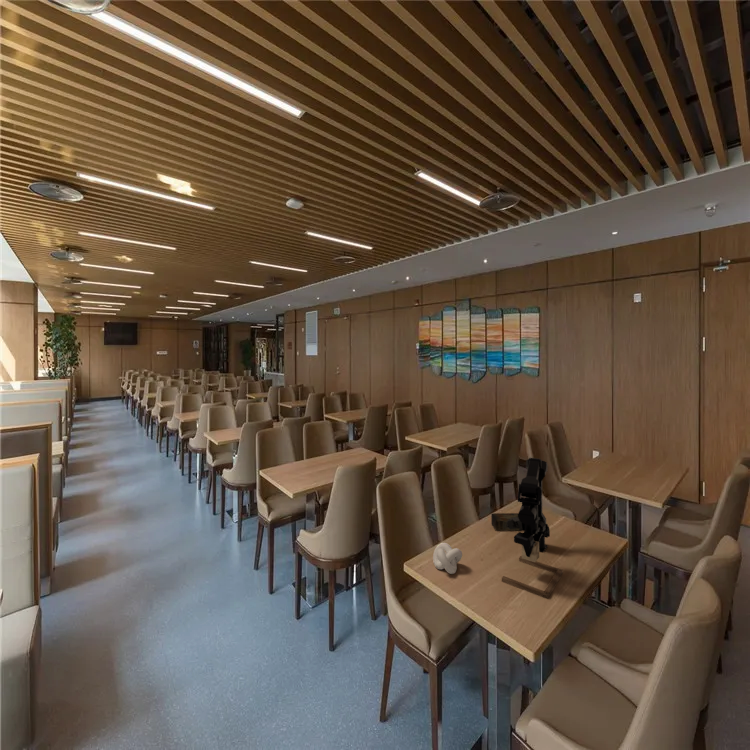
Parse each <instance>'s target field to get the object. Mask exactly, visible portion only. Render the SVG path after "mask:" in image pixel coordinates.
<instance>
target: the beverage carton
mask: <svg viewBox="0 0 750 750" xmlns="http://www.w3.org/2000/svg"><path fill="white" fill-rule="evenodd" d="M518 513H519V512H516V513H515V512H511V513H509V512H508V513H506V512H504V513H503V512H502V513H500V512H499V513H491V517H490V518H491V519H490V520H491V523H490V524H491V526H492V528H493V529H494V530H495V532H507V531H508V532H510V531H511V532H512V531H513V532H514V531H515V532H517V531H518V532H521V531H520V530H519V528H518V529H512V530H510V529H509V528H508V527H507V526H506V525H507V523H506V522H507V521H508V520H509V519H510V518H514V517H518Z"/></svg>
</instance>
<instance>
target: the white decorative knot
mask: <svg viewBox="0 0 750 750" xmlns="http://www.w3.org/2000/svg"><path fill="white" fill-rule="evenodd" d="M462 557H463V552H462V550H461V549H460V548H457V547H455V548H453V547H452V546H451V545H450V544H449V543H447V542H441V543H439V544H438V545H437V546H435V548H434V550H433V554H432V561H433V565H434V566H435V568H436V569H437V570H445V571H446V572H447V573H448V574H450V575H454V574H455V573H456V572H457V568H458V567H457V564H458V563H459V562H460V561H461V559H462Z"/></svg>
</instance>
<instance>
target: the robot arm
mask: <svg viewBox="0 0 750 750" xmlns="http://www.w3.org/2000/svg"><path fill="white" fill-rule="evenodd" d="M548 467H549V466H548V462H547V461H545V460H543V459H541V458H537V457H528V459H526V460H525V468H526V471H527V472H526V476H525V477H523V478H522V479H521V481H520V483H519V484H518V493H517V502H518V503H521V505H520V506H521V507H520V509H519V510H518V512H517V513H518V517H514V518H510V519H509V520H508V521H507V522H506V523H507V525H506V526H507V527H508V528H509V529H510V530H512V529H518V528H519V530H520V531H518V532H517V533H516V534H515V535H514V536H513V542H514V543H515V544H517V545H521V546H522V545H523V547H524V550H525V553H526V556H527V557H530V555H531V552H532V550H533V547H534V545H535V542H534V541H537V542H539V552H541V553H544V552H545V551H546V549H547V548H548V545H547V544H546V538H549V537H550V535H551V533H550V527H549V523H547V517H546V516H545V514H544V512H543V480H544V479H545V477H546V475H547V473H548Z"/></svg>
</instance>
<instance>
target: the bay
mask: <svg viewBox="0 0 750 750" xmlns="http://www.w3.org/2000/svg"><path fill="white" fill-rule="evenodd" d="M518 558H519V559H518V561H519V562H521V563H524V564H527V565H530V566H533V567H536V568H539V569H542V570H545V571H548V572H551V573H554V575H553V576H552V577H551V578H552V579H550V582H548V584H547V586H546V588H545V589H544V590H543V589H540V588H538V587H534V586H532V585H529V584H526V583H524V582H520V581H519V580H515V579H513V578H510V577H508V576H505V575H503V576H502V577H501V582H502V583H505V584H507V585H510V586H512V587H515V588H518V589H520V590H524V591H525V592H528V593H531V594H534V595H536V596H539V597H541V598H544V599H546V600H547V599H549V598H550V595H551V594H552V592H553V591H554V589H555V587H557V585H558V582H559V581H560V579H561V577H562V575H563V574H564V571H563V569H561V568H558V567H556V566H552V565H549V564H546V563H542V562H540V561H538V560H537V561H536V562H532V561H529V560H526V559H523V558H522V555H521V556H519V557H518Z"/></svg>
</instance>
